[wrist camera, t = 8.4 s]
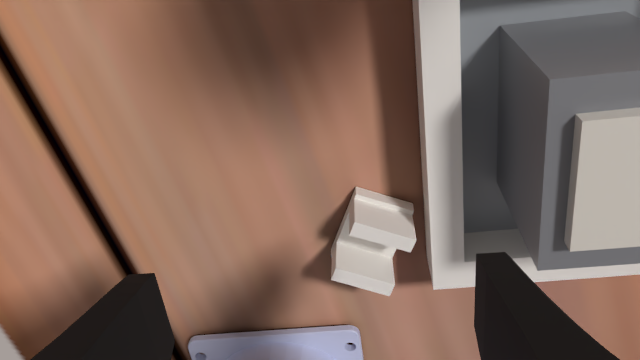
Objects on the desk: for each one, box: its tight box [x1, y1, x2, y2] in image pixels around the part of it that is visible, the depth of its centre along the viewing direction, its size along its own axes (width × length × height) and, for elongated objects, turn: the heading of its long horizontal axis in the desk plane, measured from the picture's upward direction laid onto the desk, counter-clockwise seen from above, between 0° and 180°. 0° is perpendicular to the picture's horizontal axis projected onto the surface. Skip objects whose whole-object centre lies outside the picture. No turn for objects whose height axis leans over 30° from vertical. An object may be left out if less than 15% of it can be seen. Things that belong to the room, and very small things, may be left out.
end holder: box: [412, 0, 640, 290], centre depth 20 cm, size 12×10×2 cm
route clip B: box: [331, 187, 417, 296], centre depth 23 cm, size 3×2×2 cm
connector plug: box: [497, 11, 640, 271], centre depth 18 cm, size 6×4×6 cm, turn 7°
